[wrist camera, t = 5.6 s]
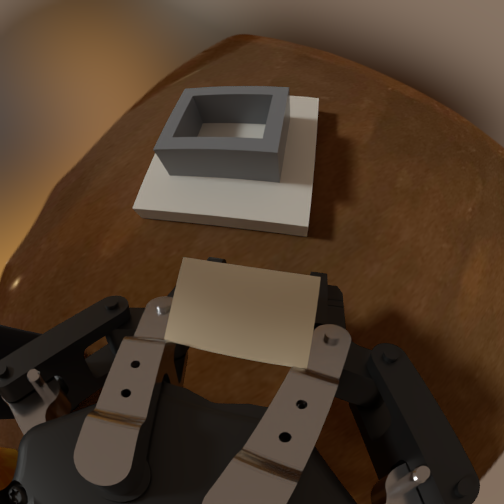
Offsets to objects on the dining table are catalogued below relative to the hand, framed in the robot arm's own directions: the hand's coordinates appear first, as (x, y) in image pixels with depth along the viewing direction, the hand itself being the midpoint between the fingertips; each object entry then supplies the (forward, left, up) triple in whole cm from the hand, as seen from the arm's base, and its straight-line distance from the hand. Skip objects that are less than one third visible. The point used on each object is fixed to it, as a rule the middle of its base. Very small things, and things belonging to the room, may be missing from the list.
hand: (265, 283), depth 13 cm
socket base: (+1, -11, -4) cm, 12 cm away
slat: (+1, +2, -4) cm, 5 cm away
